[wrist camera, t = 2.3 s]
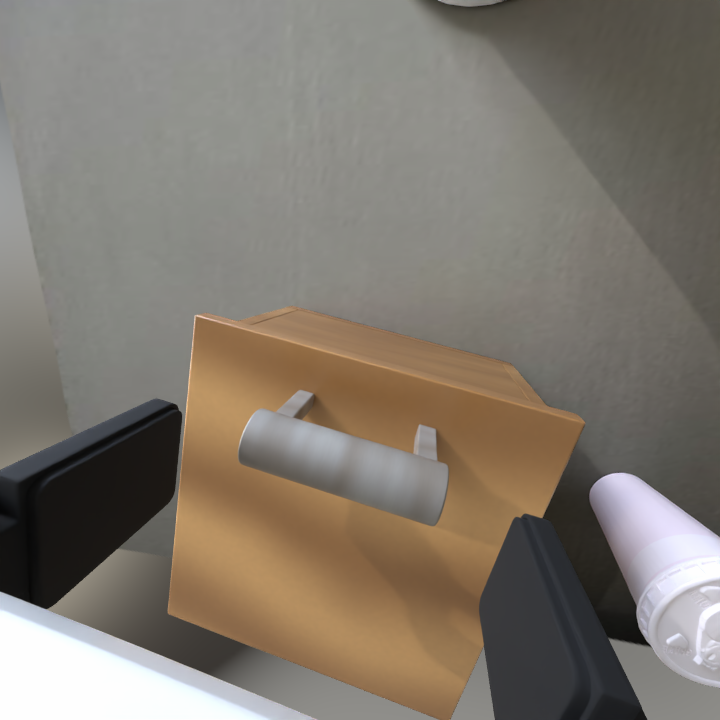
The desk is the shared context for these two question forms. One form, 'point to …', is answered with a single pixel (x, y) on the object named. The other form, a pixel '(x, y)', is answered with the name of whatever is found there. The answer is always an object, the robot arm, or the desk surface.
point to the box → (398, 350)
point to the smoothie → (665, 573)
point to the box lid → (351, 507)
